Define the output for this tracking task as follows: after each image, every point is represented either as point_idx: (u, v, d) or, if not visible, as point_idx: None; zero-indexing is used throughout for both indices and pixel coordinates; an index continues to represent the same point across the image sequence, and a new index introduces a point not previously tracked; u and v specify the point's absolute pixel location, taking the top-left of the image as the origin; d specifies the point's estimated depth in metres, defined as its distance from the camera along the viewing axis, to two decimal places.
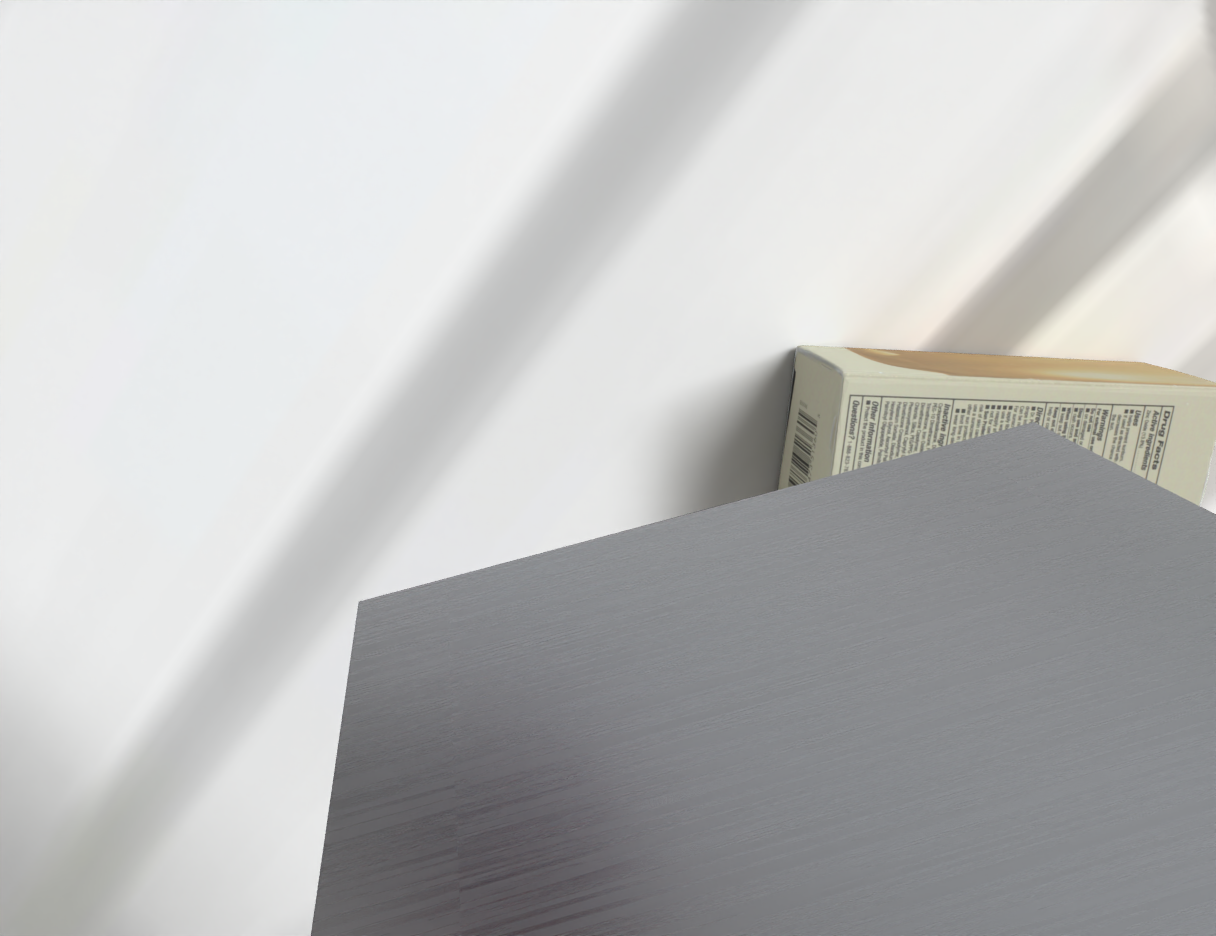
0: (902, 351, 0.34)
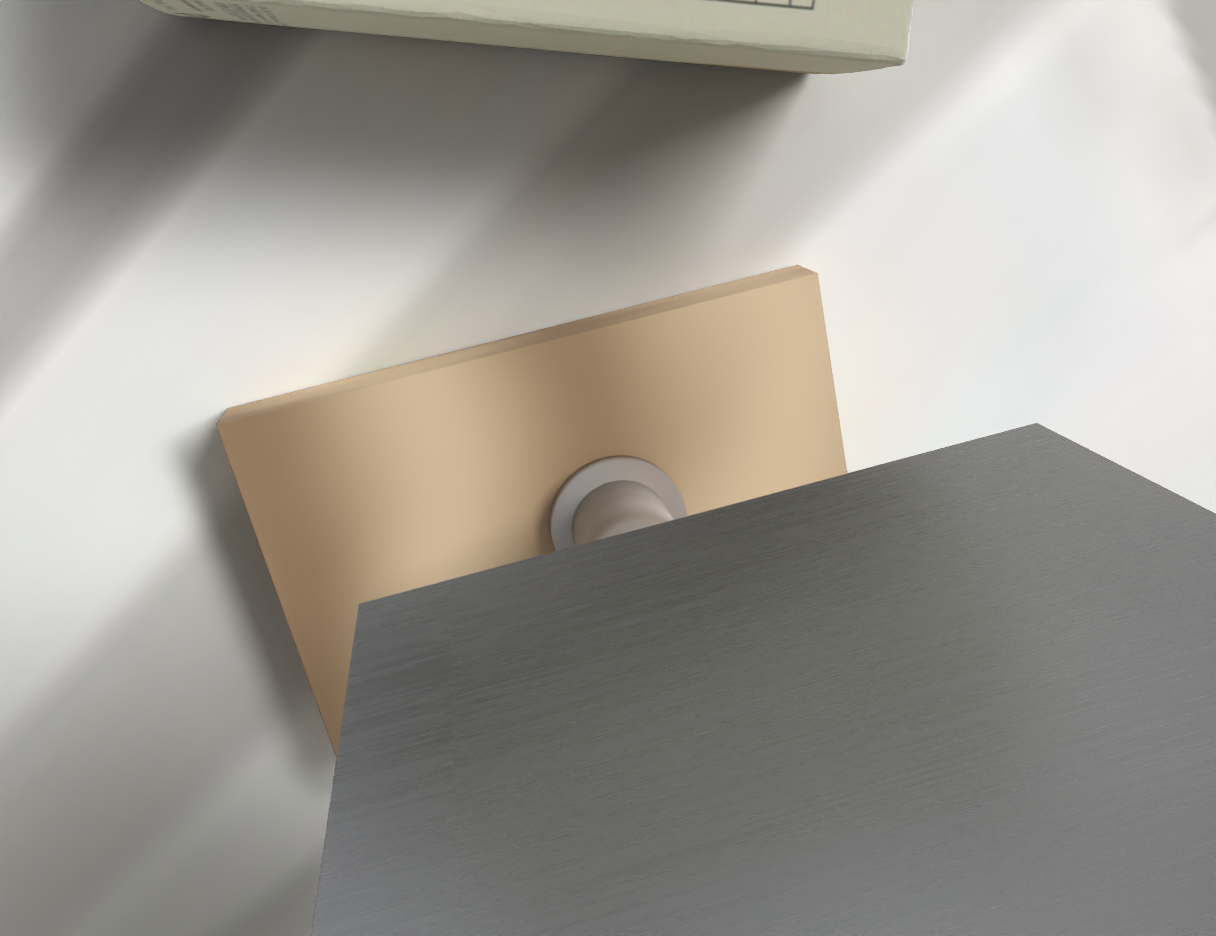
0: None
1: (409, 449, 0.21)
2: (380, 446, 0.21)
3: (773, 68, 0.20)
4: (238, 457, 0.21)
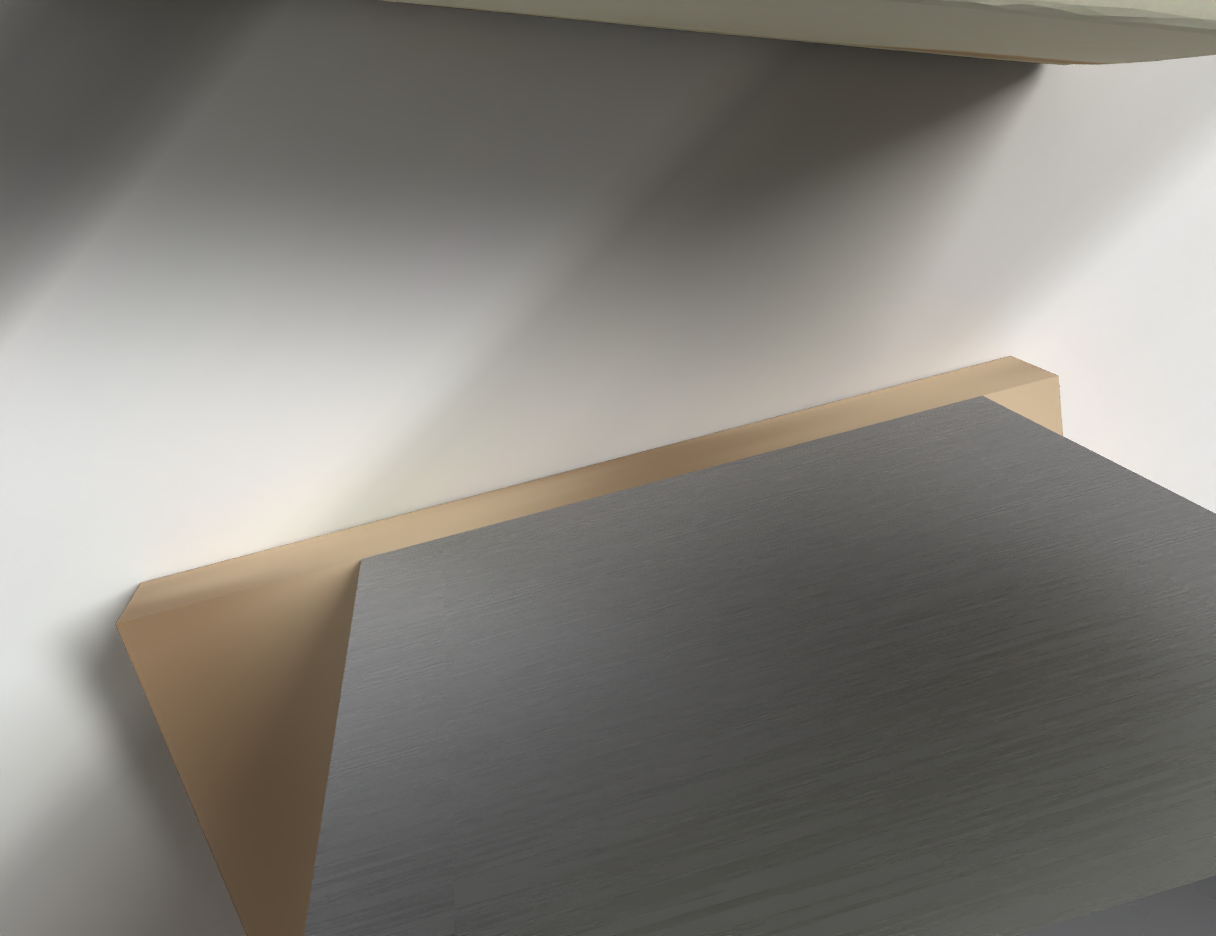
0: None
1: None
2: None
3: (1018, 54, 0.12)
4: (151, 671, 0.13)
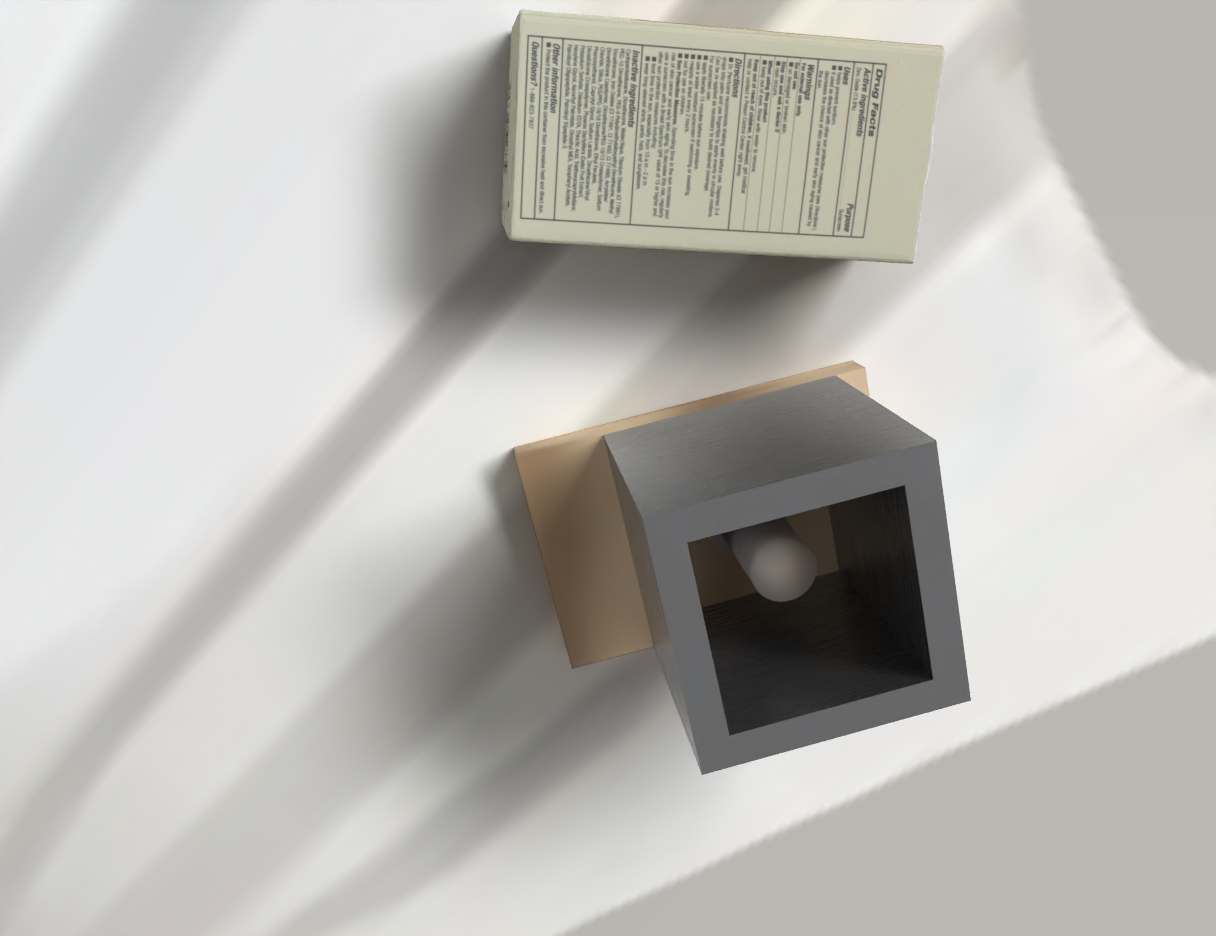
0: None
1: None
2: (606, 470, 0.36)
3: None
4: (526, 476, 0.36)
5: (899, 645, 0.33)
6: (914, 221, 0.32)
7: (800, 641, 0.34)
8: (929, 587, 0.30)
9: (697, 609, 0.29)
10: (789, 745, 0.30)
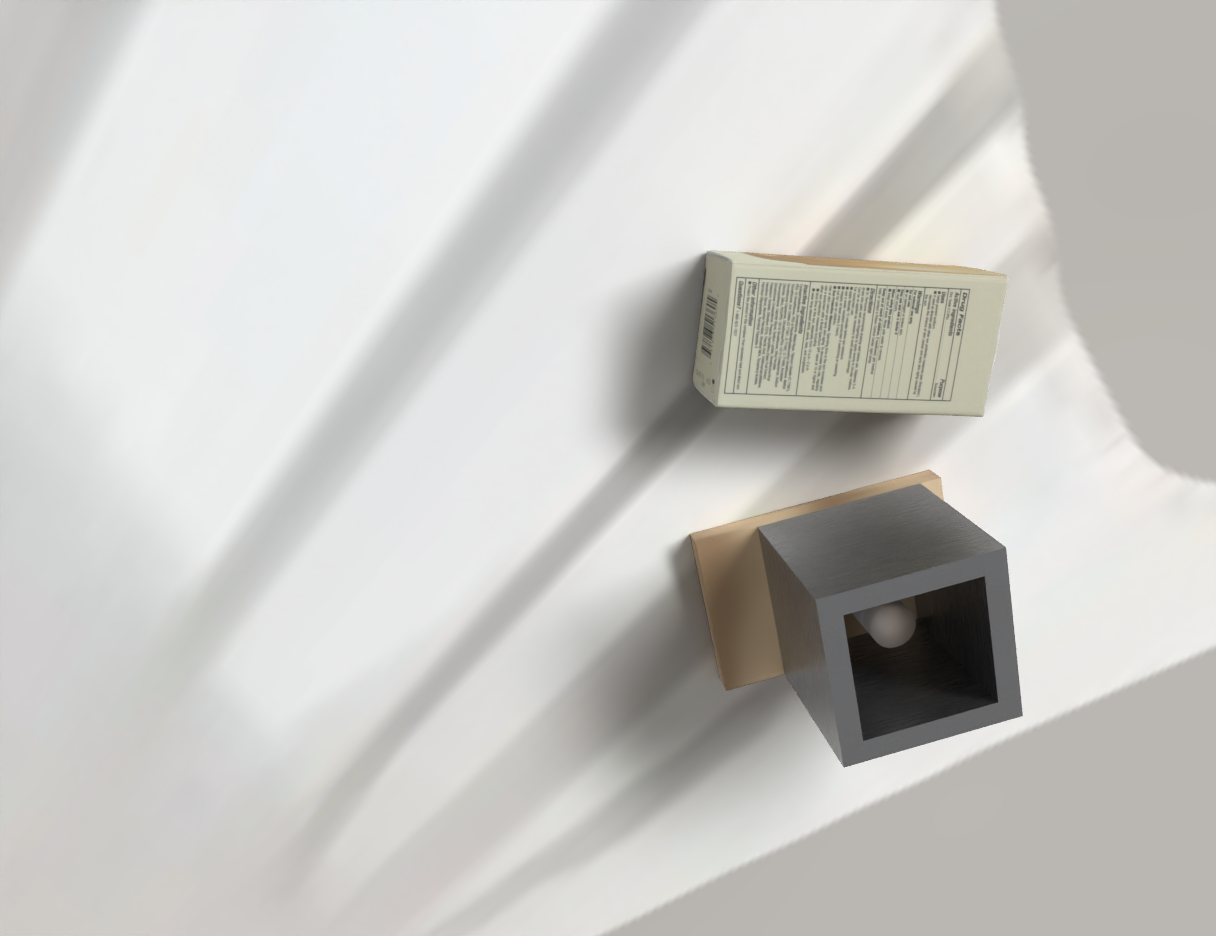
0: (783, 255, 0.47)
1: None
2: (758, 551, 0.50)
3: None
4: (702, 556, 0.50)
5: (971, 677, 0.47)
6: (984, 389, 0.46)
7: (899, 673, 0.49)
8: (997, 641, 0.44)
9: (847, 658, 0.43)
10: (902, 747, 0.45)
